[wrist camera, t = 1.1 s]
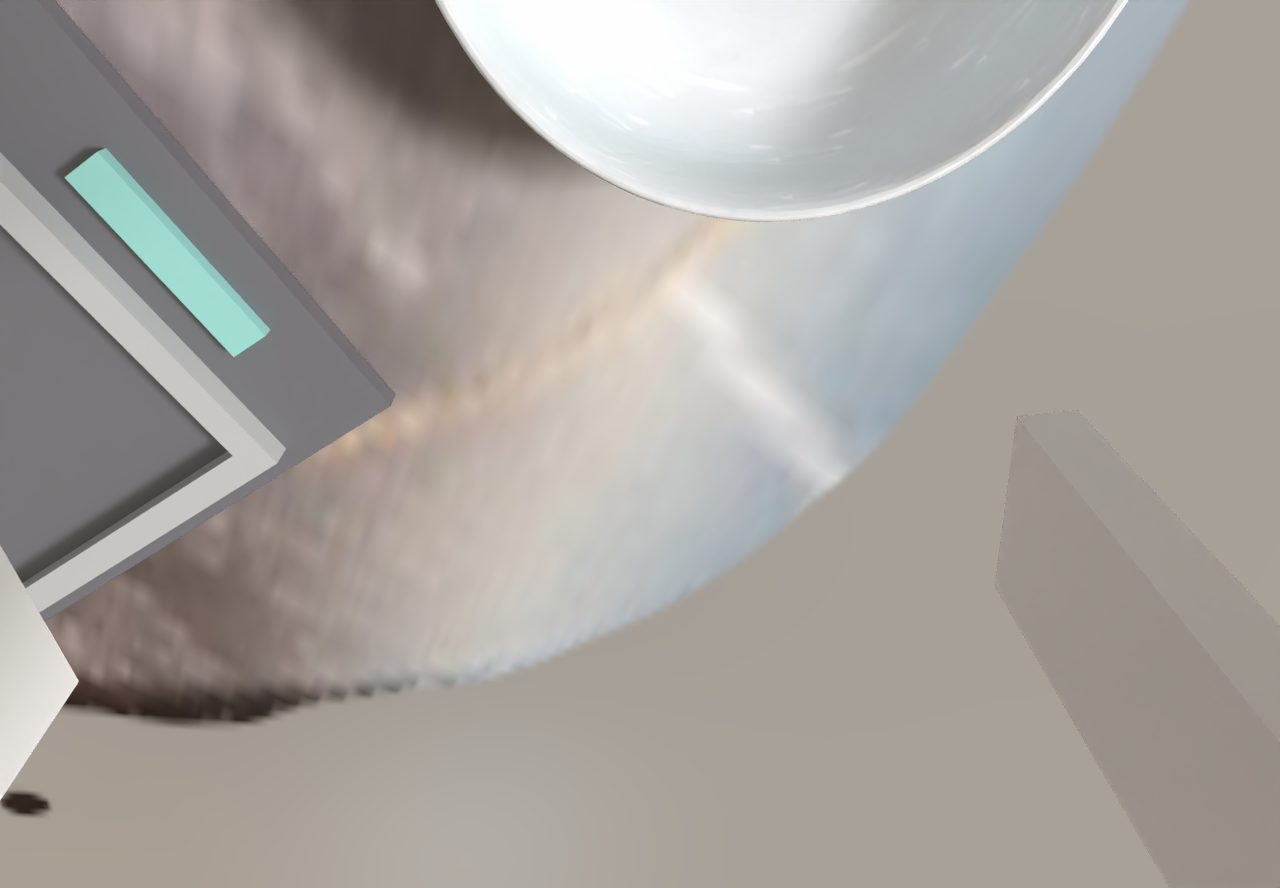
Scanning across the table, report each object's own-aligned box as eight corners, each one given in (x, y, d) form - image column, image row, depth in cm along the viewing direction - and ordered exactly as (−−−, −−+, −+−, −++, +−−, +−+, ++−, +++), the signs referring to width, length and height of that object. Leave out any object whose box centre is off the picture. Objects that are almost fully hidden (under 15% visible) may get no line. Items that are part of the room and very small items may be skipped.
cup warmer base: (-362, 323, 35) (-418, 346, 33) (36, -22, 30) (-3, -18, 28) (26, 625, 43) (-1, 658, 41) (395, 394, 38) (384, 420, 36)
